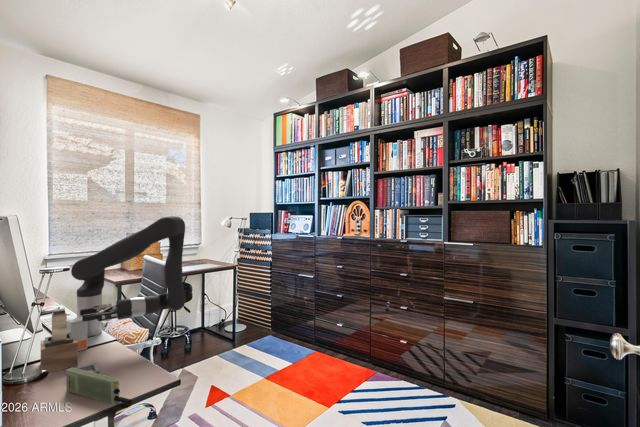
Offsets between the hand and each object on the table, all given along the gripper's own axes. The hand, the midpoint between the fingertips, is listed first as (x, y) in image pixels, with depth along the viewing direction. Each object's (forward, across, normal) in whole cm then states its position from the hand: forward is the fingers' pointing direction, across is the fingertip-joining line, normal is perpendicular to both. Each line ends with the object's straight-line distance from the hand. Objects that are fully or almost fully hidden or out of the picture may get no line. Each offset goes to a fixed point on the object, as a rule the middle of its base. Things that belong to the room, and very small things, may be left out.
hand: (81, 315), depth 126 cm
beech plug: (+6, 0, +8) cm, 10 cm away
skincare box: (0, -11, +16) cm, 20 cm away
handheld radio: (-1, +34, +16) cm, 38 cm away
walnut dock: (+6, 0, +16) cm, 17 cm away
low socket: (0, +14, +16) cm, 21 cm away
